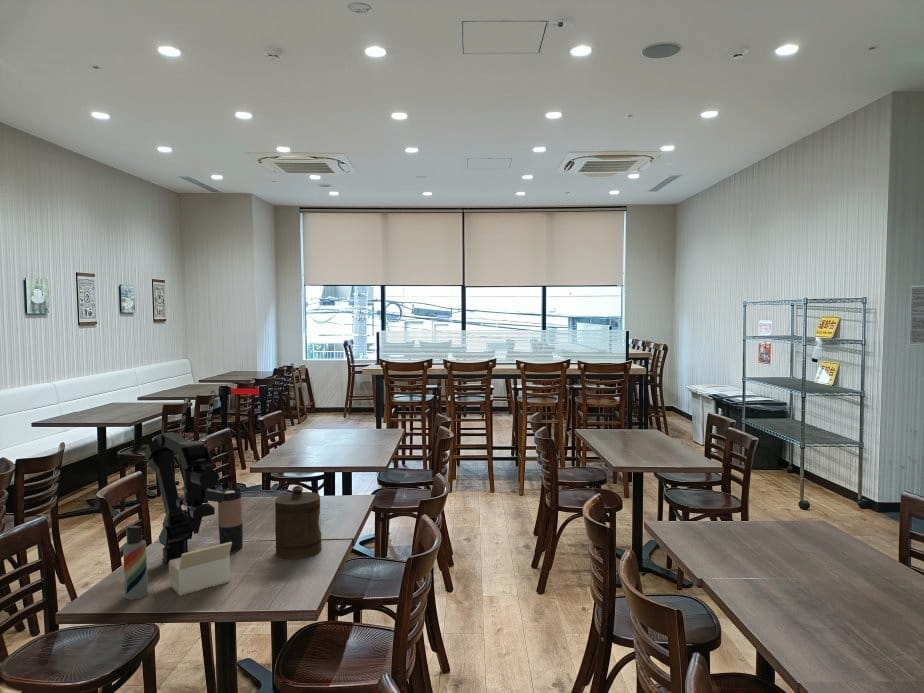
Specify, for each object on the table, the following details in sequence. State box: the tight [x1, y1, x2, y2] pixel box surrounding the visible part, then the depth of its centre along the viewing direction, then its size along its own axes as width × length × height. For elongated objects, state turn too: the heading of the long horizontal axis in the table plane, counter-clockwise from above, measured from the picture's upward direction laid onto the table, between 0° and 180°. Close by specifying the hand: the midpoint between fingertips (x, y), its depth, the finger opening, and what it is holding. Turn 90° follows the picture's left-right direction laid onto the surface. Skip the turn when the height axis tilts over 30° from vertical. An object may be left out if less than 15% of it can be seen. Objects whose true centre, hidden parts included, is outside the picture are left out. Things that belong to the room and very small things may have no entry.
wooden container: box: [274, 485, 323, 560], centre depth 202 cm, size 15×15×22 cm
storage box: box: [168, 554, 231, 597], centre depth 178 cm, size 10×15×8 cm, turn 130°
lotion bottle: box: [122, 525, 149, 601], centre depth 171 cm, size 6×6×20 cm
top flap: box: [179, 542, 232, 570], centre depth 173 cm, size 6×14×1 cm
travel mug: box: [217, 487, 244, 553], centre depth 206 cm, size 8×8×20 cm
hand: (196, 533), depth 187 cm, fingers closed
